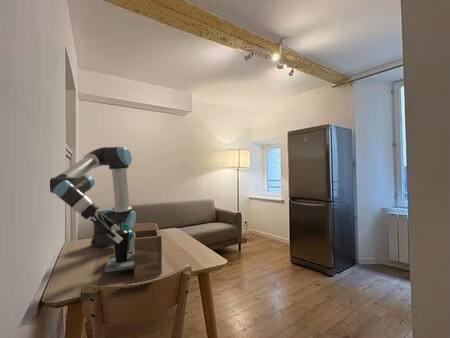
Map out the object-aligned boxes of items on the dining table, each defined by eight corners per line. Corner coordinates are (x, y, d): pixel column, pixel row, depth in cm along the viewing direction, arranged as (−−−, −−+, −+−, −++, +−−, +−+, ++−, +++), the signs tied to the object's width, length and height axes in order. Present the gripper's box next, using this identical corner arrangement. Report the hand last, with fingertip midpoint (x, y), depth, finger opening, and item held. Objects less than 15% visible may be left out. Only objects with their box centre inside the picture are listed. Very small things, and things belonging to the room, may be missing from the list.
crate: (109, 266, 123) (109, 232, 124) (159, 260, 131) (158, 228, 131) (104, 281, 106) (104, 241, 107) (161, 272, 114) (161, 236, 114)
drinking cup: (115, 258, 120) (115, 217, 120) (131, 257, 121) (131, 217, 121) (110, 264, 113) (109, 221, 113) (127, 263, 113) (126, 220, 113)
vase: (114, 263, 128) (114, 226, 128) (113, 257, 137) (113, 223, 137) (135, 259, 132) (135, 224, 133) (133, 254, 142) (133, 221, 142)
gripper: (85, 210, 123) (117, 237, 128) (72, 218, 100) (112, 251, 104) (97, 199, 125) (128, 226, 130) (87, 205, 102) (126, 237, 106)
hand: (121, 237), depth 117 cm, fingers open, 13 cm apart
